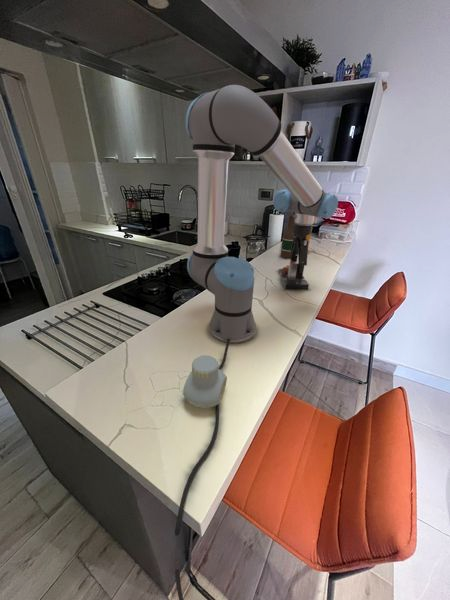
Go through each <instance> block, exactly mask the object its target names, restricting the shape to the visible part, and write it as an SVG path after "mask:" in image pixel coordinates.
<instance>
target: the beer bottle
mask: <svg viewBox="0 0 450 600" xmlns="http://www.w3.org/2000/svg"><path fill="white" fill-rule="evenodd" d="M294 215H295V214H293V213H290V214H289V215H288V222H287V226H286V229H285V231H284V232H283V234H282V239H281V245H280V257H281V258H282V259H286V260H287V259H288V260H291V252H290V250H291V247H292V243H293V239H294V233H293V225H294V224H295V222H294V219H295V218H294Z"/></svg>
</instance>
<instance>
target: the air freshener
mask: <svg viewBox="0 0 450 600" xmlns="http://www.w3.org/2000/svg"><path fill="white" fill-rule="evenodd" d="M218 368H219V361H218V360H217V358H215V357H214V356H213V355H209V354H204V355H199V356H197V357H195V358H194V359H193V360H192V362H191V371H190V373H189V374H188V376H187V378H186V380H185V382H184V386H183V391H182V392H183V393H182V395H183V397H184V398H185V400H186V401H187V402H188V403H189V404H191V405H192V406H194V407H197V408H202V409H207V408H208V409H209V408H212V407H216V405H218V404H220V403H221V401H222V399H223V396H224V394H225V390H226V387H227V381H228V376H227V375H226V373H225V372H224V371H223V370H222V369H221V370H219V369H218Z"/></svg>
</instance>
